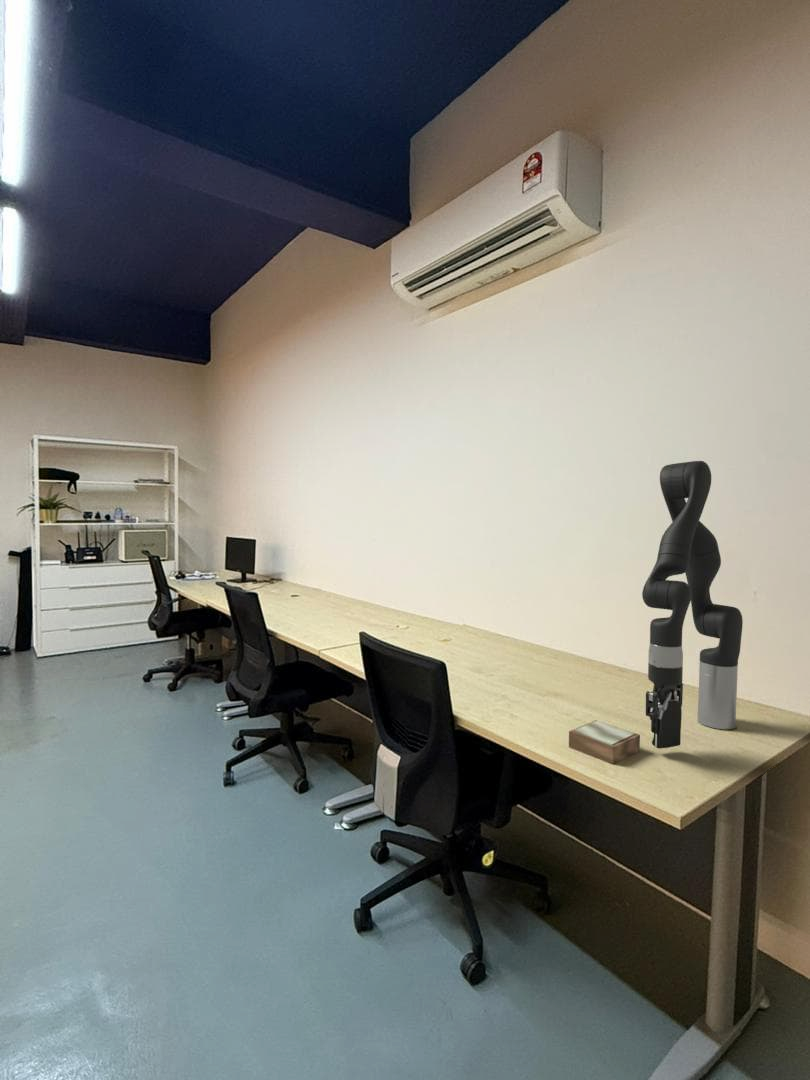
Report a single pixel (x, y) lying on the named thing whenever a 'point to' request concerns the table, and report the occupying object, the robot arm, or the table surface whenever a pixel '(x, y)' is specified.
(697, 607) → the robot arm
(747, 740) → the table surface
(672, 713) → the battery
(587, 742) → the base
